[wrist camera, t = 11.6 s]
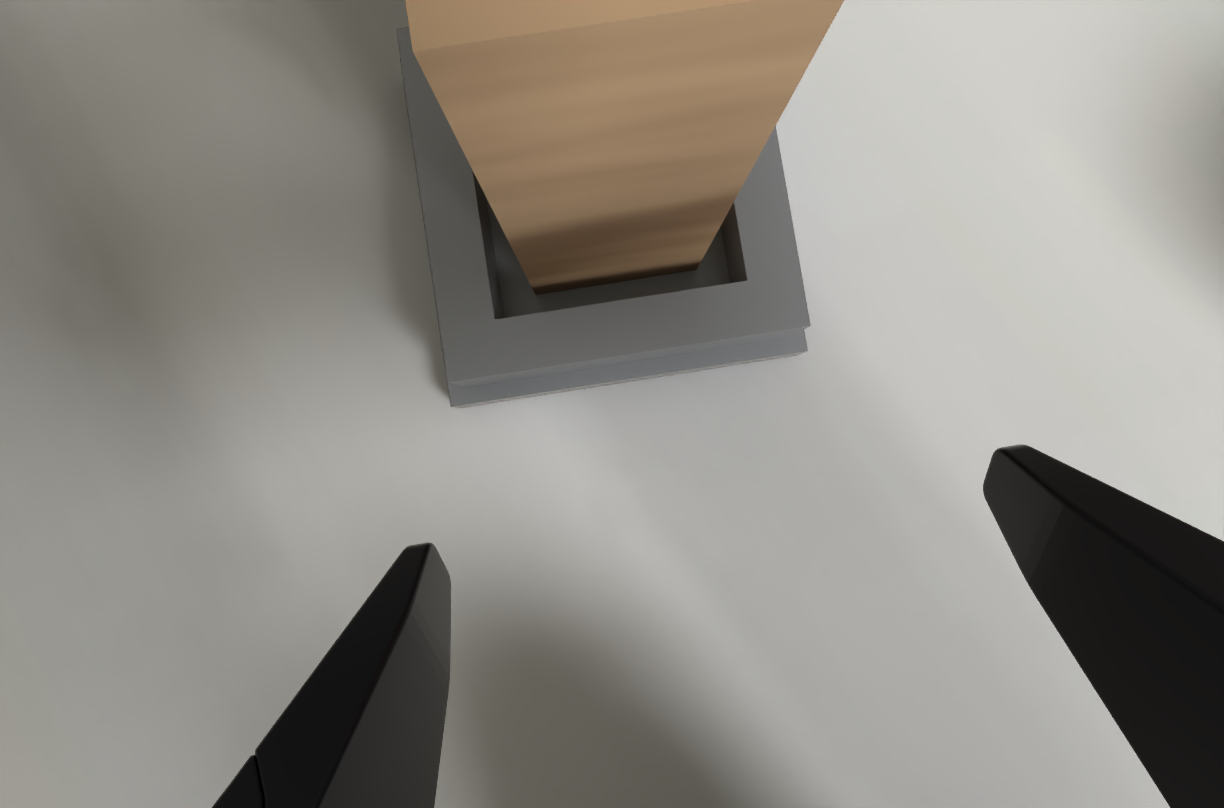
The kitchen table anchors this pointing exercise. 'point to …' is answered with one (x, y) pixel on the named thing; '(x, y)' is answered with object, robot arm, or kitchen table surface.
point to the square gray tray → (598, 315)
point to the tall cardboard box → (613, 119)
